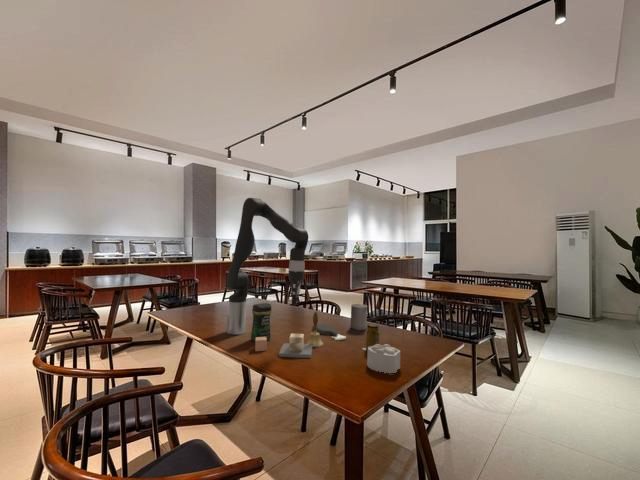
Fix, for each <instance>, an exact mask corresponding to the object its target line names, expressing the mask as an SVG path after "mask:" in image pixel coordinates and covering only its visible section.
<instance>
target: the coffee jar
mask: <svg viewBox="0 0 640 480" xmlns="http://www.w3.org/2000/svg"><path fill="white" fill-rule="evenodd" d="M251 311H252V327H251V335H250V339H251V341H253V342H255V338H256V337H266V338H267V341H269V340H271V314H272V304H270V303H267V302H263V303H257V304H253V305H252V309H251Z"/></svg>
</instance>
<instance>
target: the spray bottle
mask: <svg viewBox="0 0 640 480" xmlns="http://www.w3.org/2000/svg"><path fill="white" fill-rule="evenodd" d="M311 329H312V331H314V325H313V326H312V328H311ZM317 332H318V333H319V334H320V335H324V336H331V338H332V339H334V341H343V340H346V339H347V336H346V335H341V333H340V332H339V331H338V329H336V328H335V327H333V326H331V325H329V324H327V323H326V324H325V323H322V324H317Z"/></svg>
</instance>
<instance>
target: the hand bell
mask: <svg viewBox="0 0 640 480" xmlns="http://www.w3.org/2000/svg"><path fill="white" fill-rule="evenodd" d="M312 316H313V317H312V321H313V322H312V323H313V326H314V331H313V330H312V331H313V332H311V333H310V337H309V339H308V341H307V342H306V344H313V345H312V348H318V347H319V348H320V347H322V346H323V345H324V342H322V340H321V336H320V335H321V334H319V333H318V332H317V325H318V323H319V316H318V312H317V311H314V312H313V315H312Z"/></svg>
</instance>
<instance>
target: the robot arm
mask: <svg viewBox="0 0 640 480" xmlns="http://www.w3.org/2000/svg"><path fill="white" fill-rule="evenodd" d="M258 216H259V217H261V218H264V219H266V220H267V221H268V222H269V223H270V225H271V226H272V227H273V228H274V229H275V230H276V231H278V232H279V233H281V234H283V236H284V237H285V238H286V239H287V240H288V241H290V242H291V243H295V244H294V247H293V248H291V249H290V252H289V261H288V262H289V264H288V280H289V281H292V283H291V284H290V285H291V286H290V287H291V289H290V298H291V306H293V307H295V306H297V304H298V303H299V297H300V292H301V281H304V280H305V269H306V268H305V265H306V264H305V257H306V256H305V255H306V254H305V253H306V250H307V247H308V242H309V233H308V230H307V229H305V228H301V227H300V228H298V227H296V226H294V223H292V222H291V221H290V220H288V218H286V217H284V216H282V215H280V214H279V213H278V212H276V210H274V209H273V208H272V207H271V206H270V205H269V204H268V203H267V202H266V201H265V200H263V199H261V198H257V197H256V198H255V197H247V198H246V199H245V200H244V202H243V205H242V211H241V218H240V224H239V225H240V226H239V231H238V235H237V239H236V242H235V247H234V252H233V257H232V260H231V264H230V266H229V270H228V272H227V275H226V279H225V280H226V281H225V282H226V283H225V284H226V287H227V288H228V289H229V290H236V291H235V292H234V293H232V294H231V295H229V297H228V315H227V316H226V334H228V335H235V336H237V335H242V334H245V333H246V320H247V319H246V316H247V315H246V314H247V313H246V312H247V297H248V292H249V275H248V274H247V272H245V271H240V270H241V268H242V266H243V265H244V263H245V262H247V260H248V258H250V256H251V255H252V253H253V250H254V245H255V242H256V241H255V240H256V237H255V235H254V231H253V222H254V217H258Z"/></svg>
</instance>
